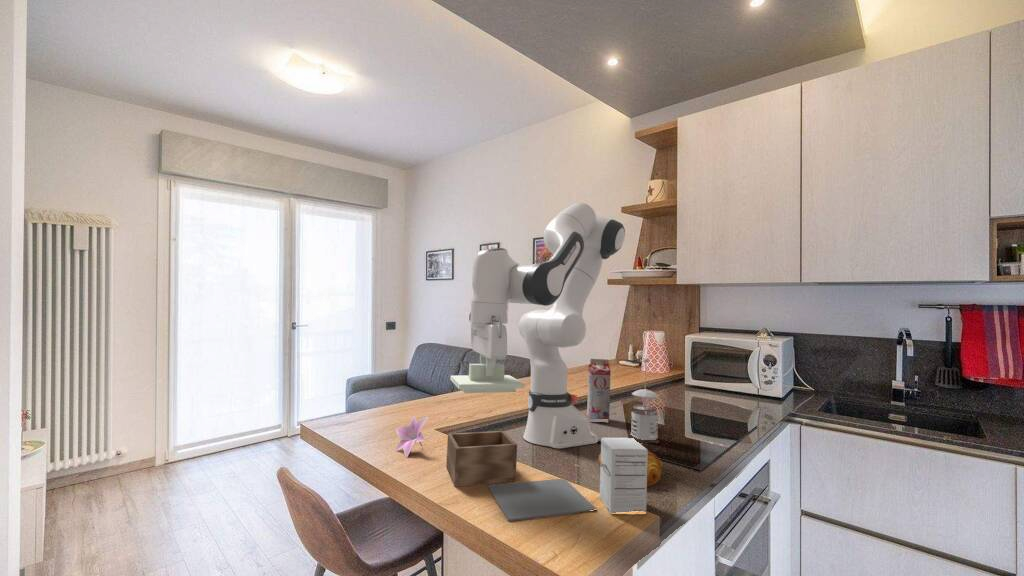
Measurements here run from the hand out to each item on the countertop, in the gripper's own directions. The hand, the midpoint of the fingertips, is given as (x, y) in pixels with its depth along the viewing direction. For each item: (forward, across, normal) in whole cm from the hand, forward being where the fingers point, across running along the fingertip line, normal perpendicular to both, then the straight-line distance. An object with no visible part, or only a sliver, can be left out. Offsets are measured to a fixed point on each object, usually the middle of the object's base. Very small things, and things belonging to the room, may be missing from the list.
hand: (486, 374), depth 98 cm
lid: (+3, 0, 0) cm, 3 cm away
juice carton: (+23, +40, -52) cm, 70 cm away
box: (+23, +1, 0) cm, 23 cm away
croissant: (+24, -7, -35) cm, 43 cm away
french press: (+23, +18, -56) cm, 64 cm away
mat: (+23, -14, -9) cm, 28 cm away
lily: (+23, +20, +15) cm, 34 cm away
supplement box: (+23, -21, -24) cm, 39 cm away
